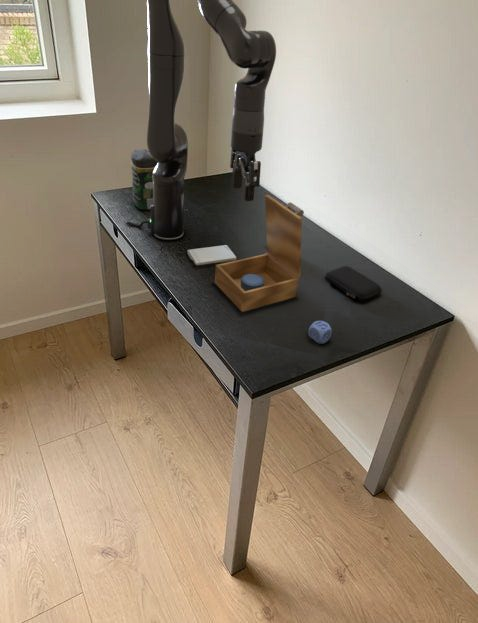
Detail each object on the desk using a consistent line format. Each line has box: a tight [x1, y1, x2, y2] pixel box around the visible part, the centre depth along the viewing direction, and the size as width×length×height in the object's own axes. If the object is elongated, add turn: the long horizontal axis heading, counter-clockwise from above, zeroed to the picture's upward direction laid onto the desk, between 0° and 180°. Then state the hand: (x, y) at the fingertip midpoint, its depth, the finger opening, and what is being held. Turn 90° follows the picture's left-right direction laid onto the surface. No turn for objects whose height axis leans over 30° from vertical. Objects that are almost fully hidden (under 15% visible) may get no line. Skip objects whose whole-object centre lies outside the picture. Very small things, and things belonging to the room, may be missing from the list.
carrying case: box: [325, 265, 383, 302], centre depth 134 cm, size 11×3×15 cm
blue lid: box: [241, 274, 264, 291], centre depth 127 cm, size 6×6×4 cm
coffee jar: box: [130, 148, 157, 211], centre depth 162 cm, size 10×8×19 cm
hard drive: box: [186, 244, 238, 266], centre depth 142 cm, size 2×8×12 cm
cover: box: [264, 194, 305, 279], centre depth 124 cm, size 17×15×5 cm
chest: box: [214, 253, 300, 313], centre depth 128 cm, size 17×15×6 cm
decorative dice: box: [307, 320, 333, 345], centre depth 114 cm, size 4×4×4 cm
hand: (242, 193), depth 123 cm, fingers open, 8 cm apart
